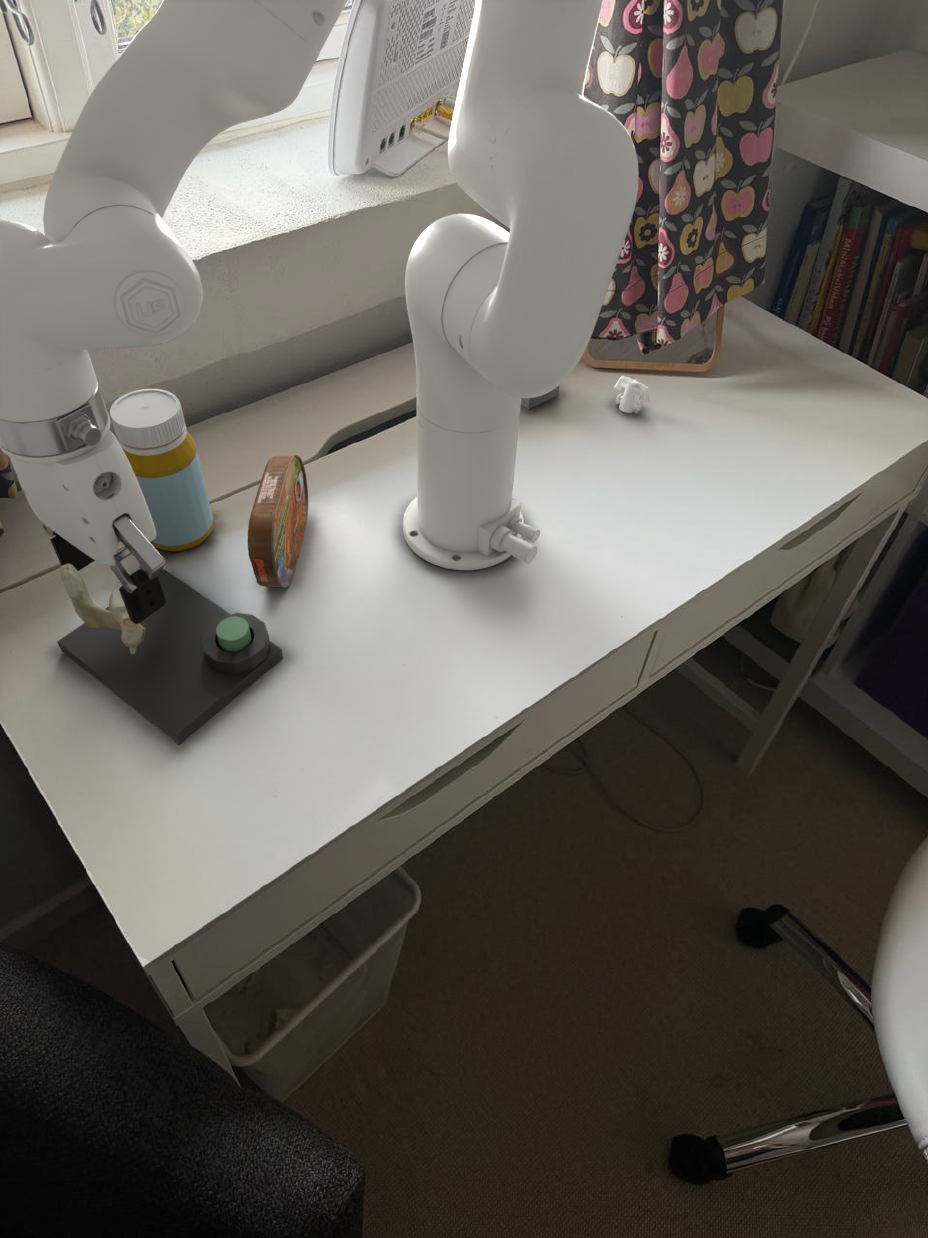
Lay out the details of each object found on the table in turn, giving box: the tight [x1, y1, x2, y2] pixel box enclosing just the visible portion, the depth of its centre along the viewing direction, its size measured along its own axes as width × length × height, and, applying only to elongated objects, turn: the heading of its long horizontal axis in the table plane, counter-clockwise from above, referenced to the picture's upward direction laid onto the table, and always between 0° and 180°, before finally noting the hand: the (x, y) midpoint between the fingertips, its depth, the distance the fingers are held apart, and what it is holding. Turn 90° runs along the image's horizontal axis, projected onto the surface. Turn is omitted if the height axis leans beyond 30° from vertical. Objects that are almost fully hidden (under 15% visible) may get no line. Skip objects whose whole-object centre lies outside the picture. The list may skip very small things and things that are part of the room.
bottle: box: [109, 388, 215, 552], centre depth 85 cm, size 7×7×15 cm
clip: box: [613, 375, 651, 414], centre depth 106 cm, size 5×2×4 cm, turn 50°
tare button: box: [216, 617, 251, 652], centre depth 77 cm, size 3×3×2 cm
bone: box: [59, 563, 146, 654], centre depth 74 cm, size 9×6×10 cm
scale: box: [56, 568, 284, 745], centre depth 78 cm, size 16×12×3 cm
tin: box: [247, 454, 309, 589], centre depth 86 cm, size 15×3×8 cm, turn 177°
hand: (114, 587), depth 74 cm, fingers closed on bone, 8 cm apart
